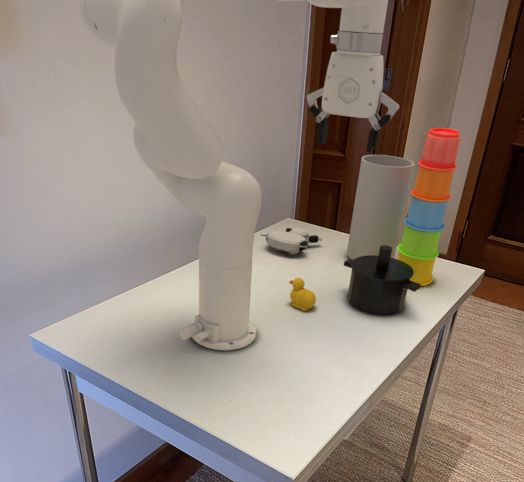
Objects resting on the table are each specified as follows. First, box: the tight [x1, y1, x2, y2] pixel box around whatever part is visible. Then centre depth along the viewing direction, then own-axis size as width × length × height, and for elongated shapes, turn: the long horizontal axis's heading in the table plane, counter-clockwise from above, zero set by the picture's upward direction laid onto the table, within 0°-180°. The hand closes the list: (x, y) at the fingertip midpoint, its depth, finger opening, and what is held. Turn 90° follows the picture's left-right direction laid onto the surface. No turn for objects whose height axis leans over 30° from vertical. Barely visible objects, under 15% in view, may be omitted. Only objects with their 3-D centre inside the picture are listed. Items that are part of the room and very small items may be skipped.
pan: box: [343, 258, 422, 317], centre depth 116 cm, size 12×18×8 cm
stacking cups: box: [396, 127, 462, 287], centre depth 122 cm, size 10×10×35 cm
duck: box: [289, 277, 317, 312], centre depth 113 cm, size 7×4×6 cm, turn 49°
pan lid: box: [350, 245, 414, 283], centre depth 113 cm, size 13×13×6 cm
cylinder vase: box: [346, 154, 415, 260], centre depth 134 cm, size 12×12×25 cm
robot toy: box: [259, 227, 323, 255], centre depth 142 cm, size 12×4×15 cm
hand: (345, 147), depth 101 cm, fingers open, 9 cm apart
